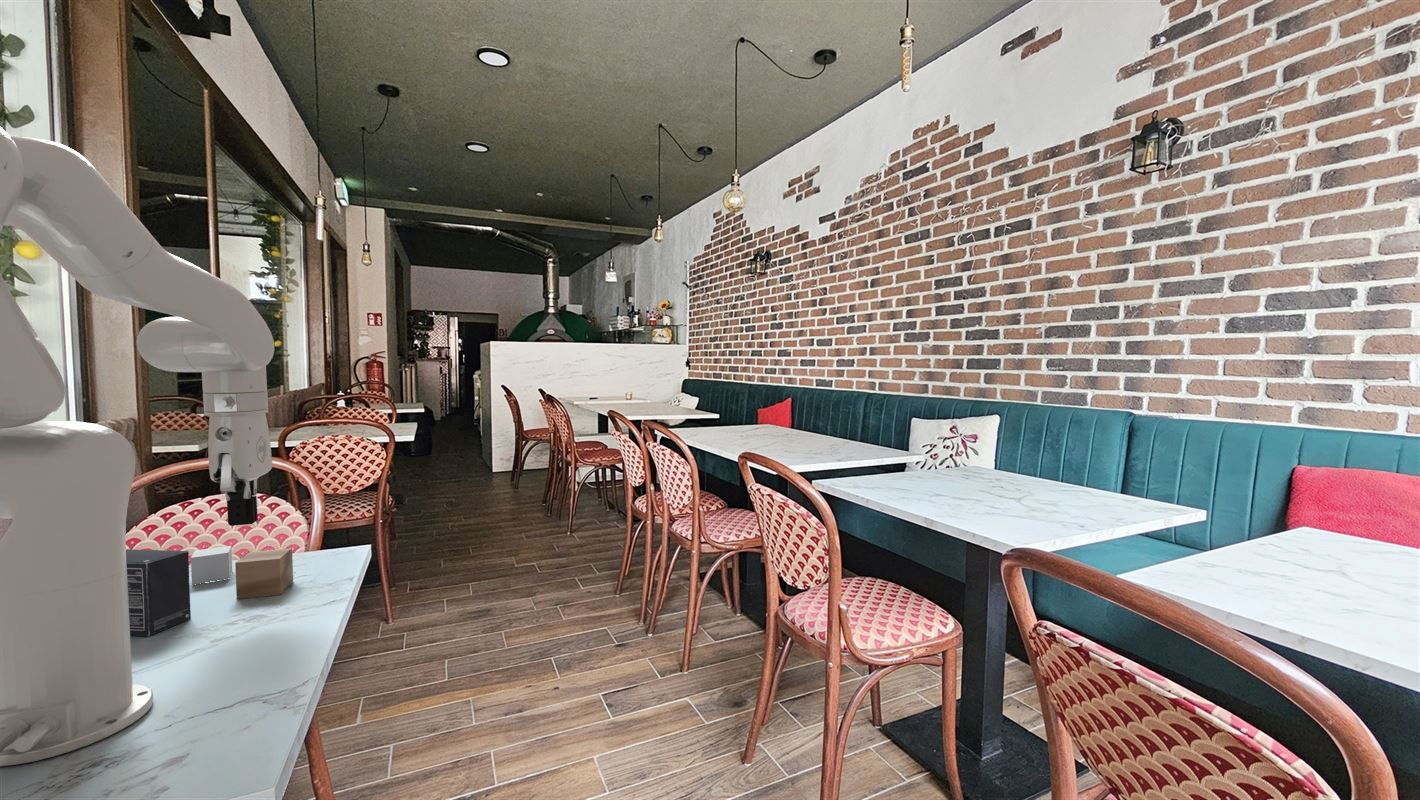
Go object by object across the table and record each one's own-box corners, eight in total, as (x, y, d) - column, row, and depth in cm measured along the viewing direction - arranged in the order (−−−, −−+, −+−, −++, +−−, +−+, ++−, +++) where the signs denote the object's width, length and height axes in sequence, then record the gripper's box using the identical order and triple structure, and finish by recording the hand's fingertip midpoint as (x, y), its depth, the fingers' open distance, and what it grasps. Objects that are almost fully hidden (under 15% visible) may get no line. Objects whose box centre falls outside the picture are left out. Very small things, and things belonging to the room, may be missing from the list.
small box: (195, 618, 86) (192, 549, 86) (149, 638, 80) (145, 563, 79) (131, 615, 87) (128, 546, 87) (81, 634, 81) (77, 560, 80)
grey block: (229, 580, 102) (228, 552, 102) (191, 586, 99) (190, 557, 99) (232, 572, 106) (231, 545, 106) (196, 578, 103) (195, 550, 103)
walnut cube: (281, 594, 95) (279, 558, 95) (236, 599, 93) (235, 562, 93) (293, 582, 101) (292, 548, 101) (251, 586, 99) (250, 551, 99)
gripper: (246, 407, 82) (253, 535, 83) (283, 400, 96) (288, 509, 97) (179, 409, 79) (188, 540, 80) (227, 401, 93) (234, 513, 94)
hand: (243, 523), depth 89 cm, fingers closed
